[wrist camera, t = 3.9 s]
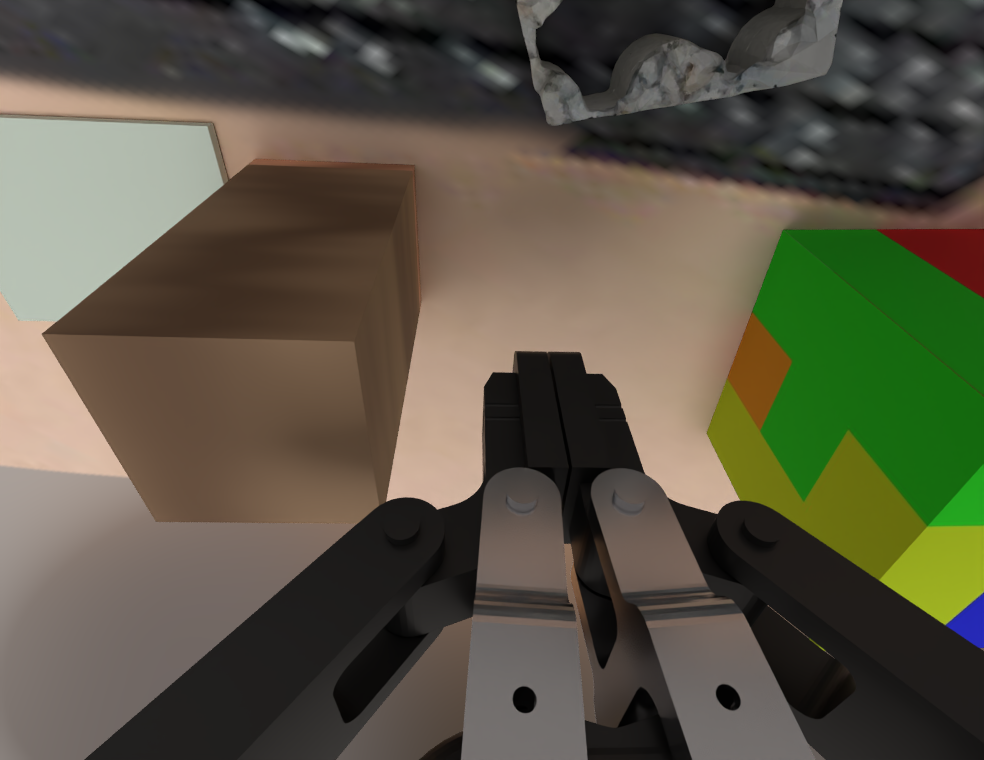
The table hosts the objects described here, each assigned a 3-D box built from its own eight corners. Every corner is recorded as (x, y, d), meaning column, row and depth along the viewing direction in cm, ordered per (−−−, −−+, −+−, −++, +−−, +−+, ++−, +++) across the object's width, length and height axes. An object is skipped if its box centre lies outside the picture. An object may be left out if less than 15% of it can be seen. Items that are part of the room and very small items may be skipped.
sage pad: (212, 123, 15) (207, 126, 15) (267, 320, 20) (263, 326, 19) (-100, 109, 15) (-113, 112, 15) (26, 314, 19) (18, 320, 19)
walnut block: (414, 165, 16) (353, 341, 8) (421, 302, 19) (382, 523, 12) (255, 159, 16) (41, 334, 8) (288, 298, 19) (156, 521, 11)
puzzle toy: (912, 429, 24) (1118, 644, 16) (706, 432, 24) (815, 651, 16) (1059, 227, 18) (1502, 420, 10) (782, 228, 18) (1017, 425, 10)
